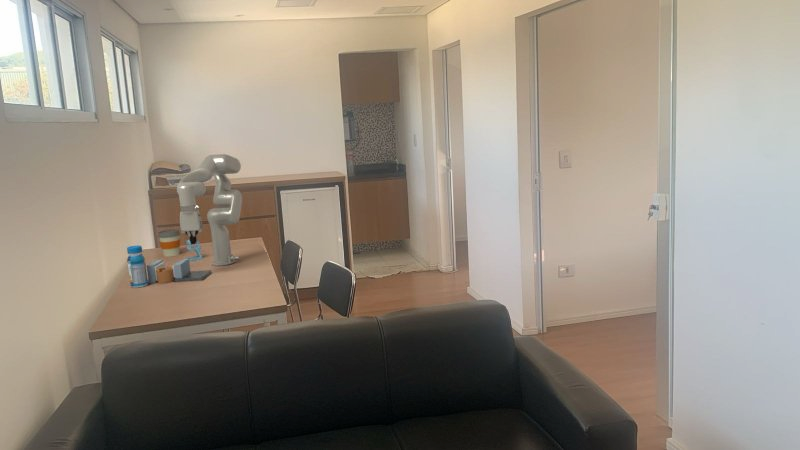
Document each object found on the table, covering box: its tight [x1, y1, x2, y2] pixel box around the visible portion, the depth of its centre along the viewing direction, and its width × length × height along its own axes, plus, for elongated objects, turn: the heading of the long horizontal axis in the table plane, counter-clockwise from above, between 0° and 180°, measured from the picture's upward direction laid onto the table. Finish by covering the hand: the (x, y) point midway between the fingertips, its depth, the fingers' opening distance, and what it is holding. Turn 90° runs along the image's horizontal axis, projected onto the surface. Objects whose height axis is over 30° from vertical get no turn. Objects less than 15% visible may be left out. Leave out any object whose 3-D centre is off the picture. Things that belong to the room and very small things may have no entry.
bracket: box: [156, 266, 176, 285], centre depth 319 cm, size 18×8×7 cm, turn 0°
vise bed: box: [174, 269, 212, 283], centre depth 321 cm, size 14×16×2 cm
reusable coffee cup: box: [157, 229, 181, 258], centre depth 384 cm, size 13×13×15 cm
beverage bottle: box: [126, 244, 149, 289], centre depth 308 cm, size 8×8×20 cm
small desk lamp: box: [185, 239, 203, 262], centre depth 367 cm, size 8×8×12 cm
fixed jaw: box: [146, 259, 166, 284], centre depth 320 cm, size 4×13×9 cm, turn 0°
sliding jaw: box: [171, 258, 191, 278], centre depth 320 cm, size 4×13×7 cm, turn 0°
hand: (193, 243), depth 319 cm, fingers closed
